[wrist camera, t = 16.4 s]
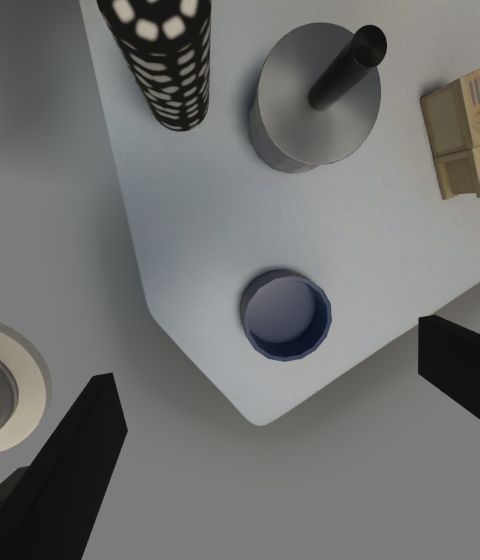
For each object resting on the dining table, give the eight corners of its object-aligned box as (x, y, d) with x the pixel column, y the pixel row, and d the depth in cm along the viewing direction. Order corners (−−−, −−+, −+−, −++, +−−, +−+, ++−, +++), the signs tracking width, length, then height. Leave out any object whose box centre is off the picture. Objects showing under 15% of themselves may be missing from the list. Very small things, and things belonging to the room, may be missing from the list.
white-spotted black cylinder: (187, 53, 39) (170, -107, 20) (219, 112, 41) (232, 20, 22) (135, 85, 39) (67, -42, 20) (170, 142, 41) (138, 78, 22)
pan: (245, 352, 50) (250, 368, 45) (235, 276, 47) (238, 284, 42) (320, 338, 51) (334, 352, 46) (315, 264, 48) (328, 270, 43)
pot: (254, 178, 44) (268, 167, 34) (242, 78, 41) (254, 36, 31) (339, 167, 45) (375, 153, 35) (333, 69, 42) (372, 25, 32)
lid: (263, 173, 35) (289, 154, 24) (248, 34, 32) (270, -60, 21) (377, 158, 36) (450, 134, 25) (373, 23, 33) (456, -72, 22)
